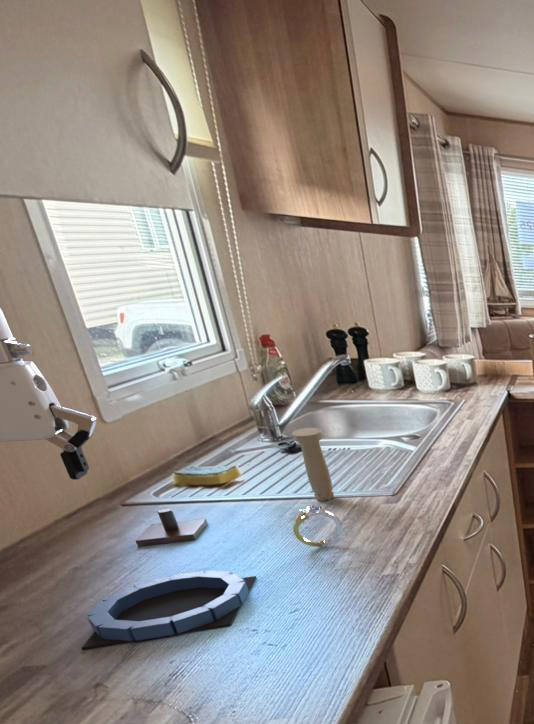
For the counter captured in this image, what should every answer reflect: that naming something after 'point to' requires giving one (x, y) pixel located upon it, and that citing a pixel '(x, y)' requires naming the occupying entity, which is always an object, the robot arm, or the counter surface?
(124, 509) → the counter surface
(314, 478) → the handle
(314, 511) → the ring
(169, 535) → the dowel stand
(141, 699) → the counter surface
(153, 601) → the mat
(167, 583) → the ring
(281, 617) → the counter surface
